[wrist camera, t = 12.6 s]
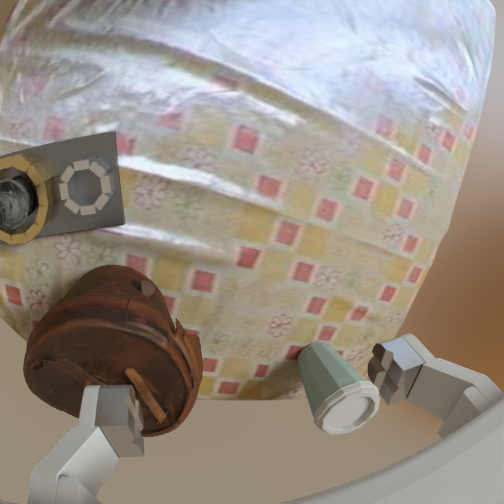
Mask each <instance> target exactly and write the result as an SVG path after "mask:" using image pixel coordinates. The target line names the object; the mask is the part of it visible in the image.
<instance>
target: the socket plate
mask: <svg viewBox="0 0 504 504" xmlns="http://www.w3.org/2000/svg"><path fill="white" fill-rule="evenodd" d="M16 176H25V177H27V178H29V179H30V180H31V181H32V182H33V183H34V185H35V187H36V189H37V195H38V202H37V206H36V208H35V210H34V212H33V213H32V214H31V215H29V216H27V218H26V220H25V222H24V223H23V224H22V225H21V226H20V227H18V228H16V229H6V228H2V229H1V230H0V243H3V242H7V243H9V244H12V245H14V244H21V243H27V242H30V241H31V240H32V239H33V238H34V237H40V236H46V235H53V234H60V233H67V232H74V231H81V230H88V229H95V228H103V227H111V226H119V225H124V224H125V216H124V209H123V202H122V194H121V186H120V177H119V167H118V157H117V145H116V132H115V131H114V132H108V133H102V134H96V135H90V136H85V137H79V138H74V139H69V140H64V141H59V142H55V143H50V144H46V145H42V146H37V147H33V148H29V149H25V150H21V151H18V152H14V153H10V154H7V155H3V156H0V181H1V180H5V179H12V178H14V177H16Z"/></svg>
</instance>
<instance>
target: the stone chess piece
mask: <svg viewBox="0 0 504 504" xmlns="http://www.w3.org/2000/svg"><path fill="white" fill-rule="evenodd" d="M37 202H38V195H37V189H36V187H35V185H34V183H33V182H32V181H31V180H30V179H29V178H27V177H25V176H16V177H14V178H12V179H5V180H1V181H0V230H1V229H2V228H6V229H16V228H18V227H20V226H21V225H22V224H23V223H24V222H25V220H26V218H27V216H29V215H31V214H32V213H33V212H34V210H35V208H36V206H37Z"/></svg>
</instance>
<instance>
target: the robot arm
mask: <svg viewBox="0 0 504 504" xmlns="http://www.w3.org/2000/svg"><path fill="white" fill-rule="evenodd" d="M372 352H373V354H374V356H373V357H372V358H371V360H370V361H369V364H368V376H369V378H370V380H371V382H372V383H373V385H375V386H377V387H379V388H380V391H379V393H380V395H381V396H382V398H383V399H384V400H385V402H386V403H387V405H391V404H394V403H396V402H399V401H402V400H404V399H407V401H409V402H411V403H413V404H414V405H416V406H418V407H420V408H421V409H423V410H425V411H427V412H428V413H430V414H432V415H434V416H436V417H437V418H439V419H441V420H442V421H444V423H443V424H442V426H441V427H440V429H439V431H438V434H439V435H440V436H441V438H442V439H441V440H439V441H437V442H435V443H433V444H432V445H430V446H428V447H426V448H424V449H422V450H420V451H418V452H417V453H415V454H413V455H411V456H409V457H407V458H405V459H402V460H400V461H399V462H396V463H394V464H392V465H390V466H387V467H385V468H383V469H381V470H379V471H376V472H374V473H371V474H369V475H367V476H364V477H361V478H359V479H356V480H354V481H351V482H349V483H346V484H343V485H340V486H337V487H334V488H331V489H328V490H325V491H322V492H319V493H315V494H312V495H309V496H305V497H302V498H298V499H294V500H290V501H286V502H283V503H279V504H504V393H503V392H502V391H501V390H500V389H499V388H498V387H497V386H496V385H495V384H494V383H493V382H492V381H491V380H490V378H488V376H486V375H483V374H480V373H478V372H475V371H472V370H469V369H467V368H464V367H462V366H459V365H456V364H453V363H451V362H448V361H446V360H443V359H440V358H437V359H436V358H435V357H434V356H433V355H432V354H431V353H430V352H429V351H428V350H427V349H426V348H425V347H424V346H423V345H422V344H421V342H420V341H419V340H418V339H417V338H416V337H415V336H414V335H412V334H406V335H403V336H400V337H396V338H393V339H390V340H386V341H383V342H380V343H377V344H376V345H375V346H374V348H373V351H372ZM143 428H144V426H143V414H142V409H141V406H140V403H139V401H138V400H136V399H135V390H134V388H133V386H132V385H87V386H86V387H85V389H84V393H83V398H82V404H81V409H80V415H79V421H78V426H73V427H72V428H71V429H70V430H69V431H68V433H67V434H66V435H65V436H64V437H63V438H62V439H61V440H60V441H59V442H58V443H57V444H56V446H55V447H54V448H53V449H52V450H51V451H50V452H49V453H48V454H47V455H46V456H45V457H44V458H43V459H42V461H41V462H40V463H39V464H38V465H37V466H36V467H35V468H34V469H33V470H32V474H31V481H30V488H29V495H28V504H103V503H101V502H100V501H99V500H98V499H97V498H96V495H97V494H98V492H99V490H100V489H101V487H102V486H103V484H104V482H105V481H106V479H107V477H108V476H109V474H110V473H111V471H112V469H113V468H114V466H115V465H116V463H117V461H118V460H119V457H138V456H144V439H143V437H142V435H141V431H142V429H143ZM0 504H17V503H13V502H9V501H5V500H2V499H0Z"/></svg>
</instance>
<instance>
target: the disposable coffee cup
mask: <svg viewBox="0 0 504 504" xmlns="http://www.w3.org/2000/svg"><path fill="white" fill-rule="evenodd" d="M298 370H299V373H300V376H301V379H302V382H303V385H304V389H305V392H306V395H307V398H308V401H309V404H310V407H311V411H312V414H313V417H314V423H315V424H316V426H317V427H318V428H320V429H321V430H323V431H325V432H327V433H328V434H344V433H348V432H351V431H354V430H357V429H358V428H359V427H361V426H362V425H364V424H365V423H366V422H367V421H369V420H370V419H371V418H372V417H373V415H374V414H375V413H376V412H377V411H378V407H379V402H380V398H379V397H378V396H379V391H378V390H377V387H376V386H375V385H373V383H372V382H371V381H370V382H369V381H368V380H367V379H365V378H364V377H363V376H362V375H361V374H360V373H359V372H358V371H357V370H356V369H355V368H354V367H353V366H351V365H350V364H349V363H348V362H347V361H346V360H345V359H344V358H343V357H342V356H341V355H340V354H339V353H338V352H336V351H335V350H334V349H333V348H332V347H331V346H330V345H329V344H326V343H324V342H315V343H312V344H309V345H308V346H307V347H305V348H304V349H303V350H302V351H301V352H300V354H299V356H298Z"/></svg>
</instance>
